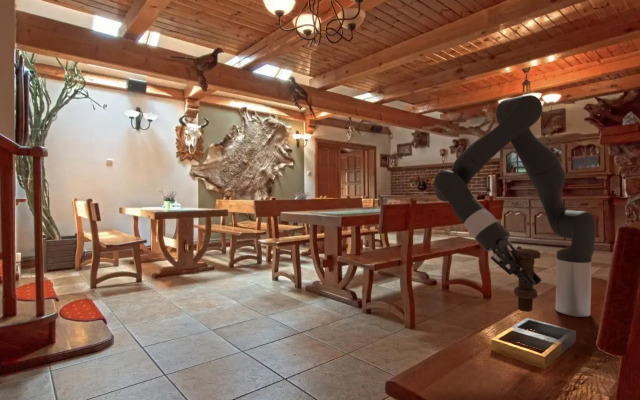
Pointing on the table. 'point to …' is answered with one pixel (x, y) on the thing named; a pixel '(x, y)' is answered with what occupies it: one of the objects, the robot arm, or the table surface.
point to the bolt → (527, 264)
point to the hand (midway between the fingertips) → (534, 284)
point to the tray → (534, 342)
